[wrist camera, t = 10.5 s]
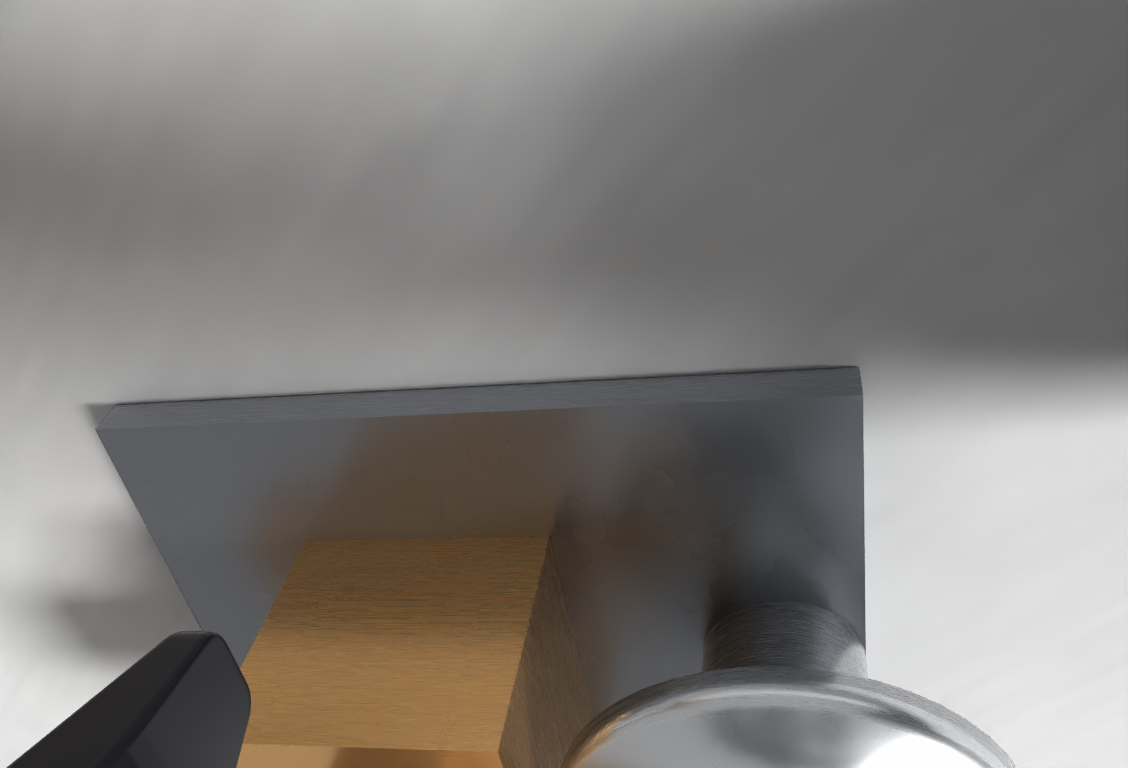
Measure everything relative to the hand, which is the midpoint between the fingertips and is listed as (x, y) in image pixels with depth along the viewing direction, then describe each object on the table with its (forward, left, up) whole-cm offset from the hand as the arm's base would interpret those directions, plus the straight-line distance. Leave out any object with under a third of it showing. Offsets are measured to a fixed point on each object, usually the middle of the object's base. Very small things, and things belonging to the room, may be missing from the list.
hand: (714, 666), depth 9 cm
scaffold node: (+5, +14, -13) cm, 20 cm away
